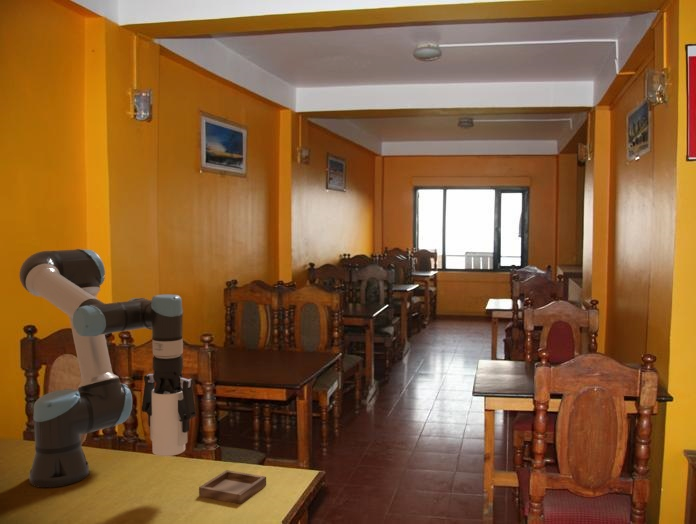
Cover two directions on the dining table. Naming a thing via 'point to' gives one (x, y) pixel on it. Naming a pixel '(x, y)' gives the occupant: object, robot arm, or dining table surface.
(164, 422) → the cup
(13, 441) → the dining table surface
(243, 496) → the square wooden tray
